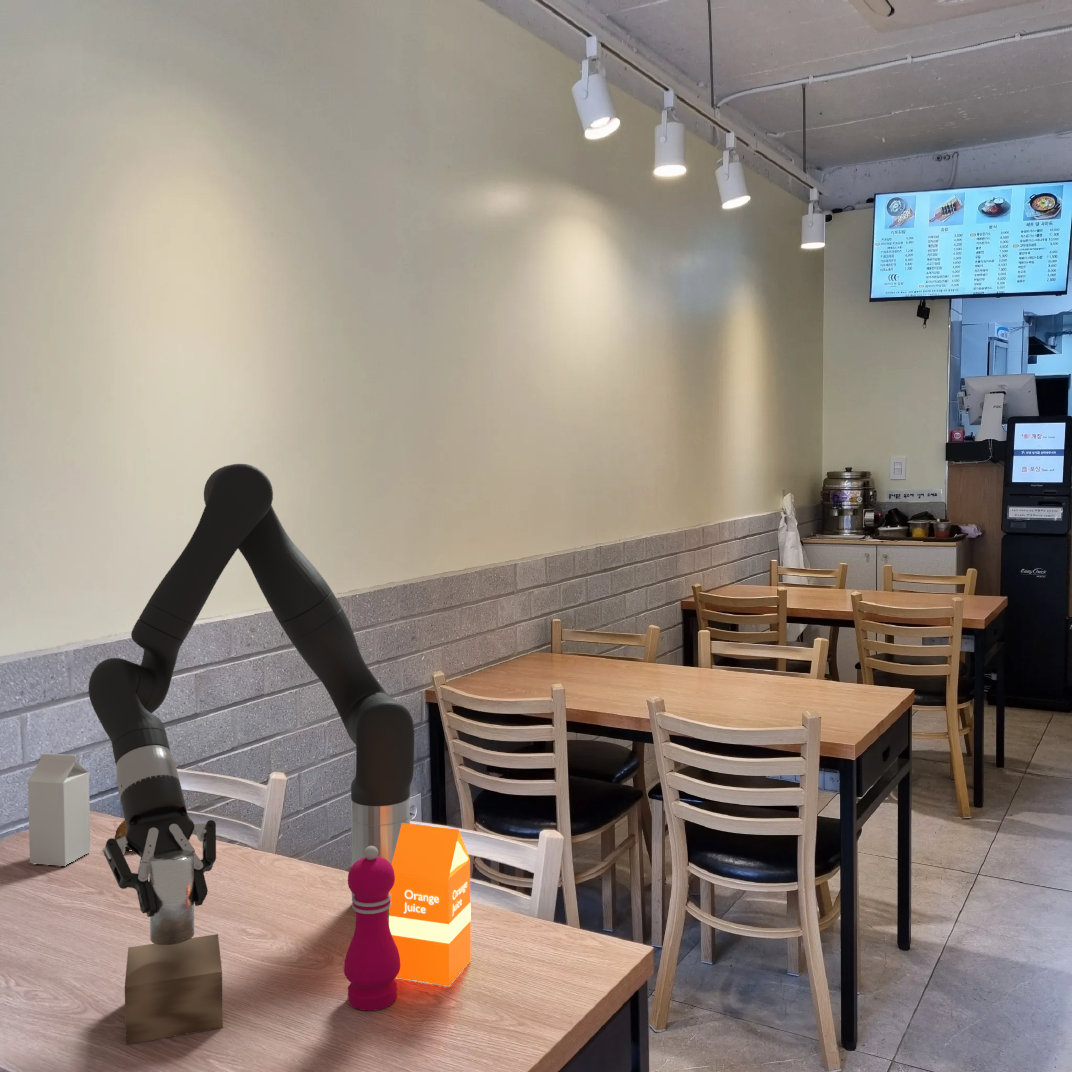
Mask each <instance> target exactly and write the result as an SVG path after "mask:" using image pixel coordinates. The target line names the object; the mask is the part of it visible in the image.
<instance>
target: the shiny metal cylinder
mask: <svg viewBox="0 0 1072 1072" xmlns="http://www.w3.org/2000/svg"><path fill="white" fill-rule="evenodd" d="M149 881H151V885H152V889H153V894H154V899H155V903H156V912H155V915H154V916H151V917H149V935H150V936H149V938H150V939H149V940H150V942H151V944H158V945H174V944H178V943H182V942H185V941H187V940H189V939H190V938H194V935H195V903H194V854H193V853H192V852H191V851H187V850H170V851H165V852H160V853H157V854H155V855H153V857H150V859H149Z"/></svg>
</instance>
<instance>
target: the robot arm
mask: <svg viewBox="0 0 1072 1072" xmlns="http://www.w3.org/2000/svg"><path fill="white" fill-rule="evenodd" d="M203 500H204V504H205V506H204V508H203V512H202V513H201V516H200V520H199V522H198V524H197V526H196V528H195V530H194V532H193V534H192V535H191V538H190V540H189V541H188V543H187V544H186V546H185V547H184V549H183V550H182V552H181V554H179V556H178V558H177V559H176V561H175V562H174V563H173V564H172V565H171V567H170V569H169V570H168V571H167V573H166V574H165V576H164V577H163V578H162V580H161V581H160V582H159V584H158V586H157V587H156V588H155V590H154V592H153V594H152V595H151V596H150V597H149V600H148V601H147V603H146V605H145V607H144V608H143V610H142V612H141V613H140V615H139V617H138V619H137V620H136V622H135V624H134V626H133V627H132V631H131V632H130V635H131V640H133V642H134V643H135V644H136V645H138V646H139V647H140V648H142V649H143V655H142V660H141V664H139V663H135V662H132V661H130V660H127V659H123V658H119V657H111V658H110V657H109V658H106V659H105V660H102V661H101V662H99V663H98V664H97V665H96V667H94V669H93V671H92V673H91V675H90V677H89V680H88V681H89V682H88V697H89V700H90V704H91V706H92V708H93V711H94V712H95V714H96V715H95V716H96V717H97V718H98V720H99V722H100V724H101V726H102V728H103V730H104V732H105V733H106V735H107V737H108V738H109V740H110V742H111V746H112V747H111V748H112V753H113V758H114V762H115V763H114V764H115V768H116V783H117V787H118V789H117V793H118V797H119V798H120V803H121V809H122V812H123V817H124V818H123V819H124V820H125V823H126V828H127V833H126V836H125V837H123V838H120V839H117V840H115V839H114V838H115V837H111V838H108V839H107V840H106V843H105V847H104V850H103V855H104V856H105V859H106V861H107V863H108V865H109V868H110V871H111V872H112V874H113V876H114V879H115V880H116V881H115V882H117V884H118V887H119V888H120V889H121V890H124V889H125V890H126V889H127V888H130V889H134V890H136V893H137V898H138V904H139V909H140V911H141V912H142V914H146V917H148V918H150V917H151V916H154V915H155V912H156V903H155V899H154V894H153V889H152V885H151V881H150V880H149V878H150V874H149V859H150V857H153V855H155V854H157V853H160V852H165V851H170V850H187V851H191V852H192V853H193V854H194V907H198V906H203V903H204V901H205V899H206V897H207V895H208V893H209V892H208V886H207V881H206V879H205V878H206V877H205V875H204V873H205V872H209V871H211V870H212V868H213V865H214V863H215V862H216V861H217V860H216V859H217V824H216V821H215V820H213V819H209V820H207V821H206V823H194V821H193V820H192V819H191V818H190V817H189V815H188V810H187V807H186V801H185V797H184V794H183V789H182V784H181V781H180V776H179V773H178V769H177V765H176V763H175V760H174V758H173V755H172V751H171V748H170V747H171V746H170V744H169V740H168V736H167V735H168V734H167V732H166V728H165V725H164V723H163V722H162V721H161V719H160V717H159V716H156V715H155V714H153V713H154V712H156V711H157V709H159V708H160V707H161V705H162V704H163V703H164V701H165V699H166V697H167V695H168V693H169V689H170V685H171V682H172V678H173V674H174V671H175V667H176V664H177V659H178V655H179V652H180V648H181V647H182V645H183V644H184V642H185V640H186V638H187V637H188V635H189V634H190V633H189V632H190V631H191V629H192V628H193V626H194V624H195V622H196V621H197V618H198V617H199V615H200V613H201V611H202V609H203V607H204V605H205V604H206V602H207V600H208V598H209V596H210V594H211V592H212V591H213V590H214V587H215V585H216V583H217V582H218V580H219V578H220V576H221V575H222V574H223V571H224V570H225V568H226V566H227V565H229V562H230V561H231V559H232V558H233V556H234V555H235V553H236V552H237V550H239V552H240V553H241V555H242V557H244V559H245V561H246V563H247V564H248V566H249V568H250V570H251V572H252V574H253V577H254V578H255V581H256V582H257V584H258V587H259V589H260V590H261V593H262V594H263V596H264V598H265V600H266V602H267V604H268V605H269V607H270V609H271V610H272V613H273V614H274V616H275V618H276V620H277V621H278V623H279V625H280V626H281V628H282V630H283V631H284V633H285V634H286V637H288V639H289V641H290V642H291V643H292V645H293V646H294V648H295V649H296V650H297V652H298V653H299V655H300V656H301V658H302V659H303V660H304V661H305V663H306V664H307V665H308V667H309V668H310V669H311V671H312V672H313V673H314V674H315V676H316V677H317V678H318V679H319V680H320V682H321V683H322V684H323V686H324V688H325V689H326V691H327V693H328V695H329V696H330V699H331V700H332V702H333V705H334V707H335V709H336V711H337V712H338V715H339V717H340V719H341V721H342V723H343V726H344V728H345V730H346V733H347V735H348V736H349V739H350V740H351V741H352V743H353V744H355V749H356V750H355V753H356V754H355V757H356V758H355V776H354V779H352V782H351V785H350V810H351V811H350V812H351V813H350V819H351V820H350V823H351V830H350V831H351V866H352V865H353V864H354V863H355V862H356V861H358V860H360V859H361V858H364V857H365V855H364V851H365V849H366V848H367V847H369V846H374V847H376V848H377V850H378V857H382V858H384V859H386V860H387V861H389V862H390V864H391V865H392V861H393V857H394V853H395V849H396V845H397V841H398V837H399V833H400V829H401V825H402V823H405V824H411V808H410V807H411V801H410V799H411V797H410V796H411V785H412V782H413V779H414V772H415V771H414V770H415V769H414V768H415V766H414V765H415V728H414V727H415V726H414V725H415V724H414V720H413V717H412V715H411V712H410V711H409V710H408V709H407V707H406V706H404V705H403V704H402V703H400V702H398V701H397V700H395V699H394V698H393V697H391V696H390V695H389V694H388V692H387V691H386V689H384V688H383V686H382V685H381V684H380V683H379V681H378V680H377V678H376V677H375V676H374V674H373V673H372V671H371V670H370V669H369V667H368V666H367V664H366V662H365V660H364V658H363V657H362V654H361V651H360V649H359V646H358V643H357V639H356V636H355V633H354V631H353V628H352V625H351V622H350V620H349V618H348V616H347V614H346V613H345V610H344V609H343V607H342V605H341V604H340V602H339V600H338V599H337V597H336V596H335V593H334V592H333V590H332V588H331V587H330V585H329V584H328V583H327V581H326V580H325V579H324V577H323V575H321V573H320V572H319V571H318V569H317V568H316V567H315V566H314V565H313V563H312V562H311V561H310V560H309V559H308V558H307V556H305V554H304V553H303V552H302V551H301V550H300V549H299V547H297V546H296V544H295V543H294V542H293V541H292V539H291V538H290V537H289V534H288V533H287V532H286V530H285V528H284V527H283V524H282V523H281V521H280V519H279V517H278V515H277V513H276V511H275V510H274V508H273V505H272V503H273V500H274V491H273V486H272V484H271V480H270V479H269V477H268V476H267V475H266V473H265V472H263V470H262V469H259V468H258V467H257V466H254V465H250V464H248V463H233V464H229V465H224V466H222V467H220V468H218V469H216V470H215V471H214V472H212V473H211V474H210V476H209V477H208V478H207V480H206V482H205V485H204V488H203ZM193 834H195V835H196V837H197V840H198V841H199V842H201V843H202V859H200V858H199V856H198V855H197V853H196V851H195V848H194V846H193V845H192V844H191V842H190V839H191V837H192V835H193ZM126 846H127V847H129V848H130V849H131V850H132V851H134V852H133V853H135V854H136V855H138V856H139V857H140V859H139V865H138V870H137V872H136V873H135V872H132V870H131V869H130V866H129V863H128V862H127V860H126V858H125V853H126V851H125V847H126ZM353 895H354V894H353V893H352V892H351V898H352V897H353ZM352 904H353V902H351V905H352ZM388 916H389V909H388Z"/></svg>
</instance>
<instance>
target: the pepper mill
mask: <svg viewBox="0 0 1072 1072" xmlns="http://www.w3.org/2000/svg"><path fill="white" fill-rule="evenodd" d="M364 855H365V857H364V858H361V859H360V860H358V861H356V862H355V863H354V864H353V865H352V864H351V866H350V869H349V871H348V875H347V886H348V889H349V890H350V891H351V894H352V893H353V894H354V895H353V897H352V896H351V901H352V902H353V904H352V902H351V909H352V910H353V911H354V912H355V923H354V931H353V935H352V938H351V940H350V943H349V946H348V948H347V950H346V952H345V953H346V954H345V957H344V963H343V974H344V977H345V978H346V980H348V981H347V982H349V985H348V987H347V1001H348V1003H349V1005H350V1006H351V1007H352V1008H354V1009H357V1010H360V1011H365V1010H367V1011H366V1012H369V1011H371V1010H374V1011H378V1010H383V1009H385V1008H387V1007H390V1006H391V1005H393V1004H394V1003H395V1002H394V1001H396V1000H397V998H398V984H397V981H396V979H395V978H396V976H397V975H398V973H399V971H400V966H401V964H400V956H399V952H398V948H397V946H396V944H395V941H394V939H393V937H392V934H391V932H390V928H389V915H388V909H389V908H390V906H391V901H390V899H391V894H390V893H389V891H390V890H391V889H392V887H393V886H394V883H395V873H394V869H393V867H392V865H391V864H390V862H389V861H387V860H386V859H384V858H382V857H378V850H377V848H376V847H374V846H369V847H367V848H366V849H365V851H364ZM389 1005H390V1006H389ZM371 1012H372V1011H371Z"/></svg>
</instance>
